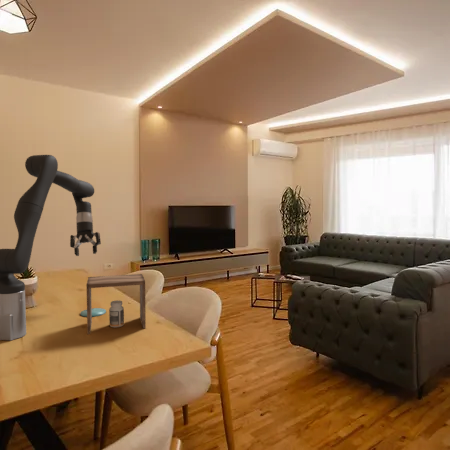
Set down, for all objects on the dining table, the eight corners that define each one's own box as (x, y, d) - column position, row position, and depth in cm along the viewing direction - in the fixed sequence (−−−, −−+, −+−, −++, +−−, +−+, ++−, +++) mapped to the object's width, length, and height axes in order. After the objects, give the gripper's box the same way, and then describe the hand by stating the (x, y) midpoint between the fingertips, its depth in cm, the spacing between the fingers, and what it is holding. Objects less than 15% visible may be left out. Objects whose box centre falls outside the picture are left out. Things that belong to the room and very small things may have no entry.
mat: (99, 317, 156) (99, 316, 156) (75, 316, 157) (75, 315, 157) (110, 309, 167) (110, 308, 167) (88, 308, 168) (87, 307, 168)
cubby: (145, 328, 143) (145, 280, 142) (87, 334, 136) (86, 284, 135) (142, 317, 156) (142, 274, 155) (89, 322, 149) (88, 277, 148)
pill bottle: (118, 322, 150) (118, 299, 149) (126, 325, 146) (126, 301, 146) (106, 325, 146) (106, 302, 145) (114, 328, 142) (114, 304, 141)
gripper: (66, 222, 172) (68, 255, 169) (95, 219, 172) (97, 252, 169) (73, 225, 180) (75, 257, 176) (101, 222, 179) (103, 253, 176)
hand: (86, 254), depth 173 cm, fingers open, 8 cm apart
